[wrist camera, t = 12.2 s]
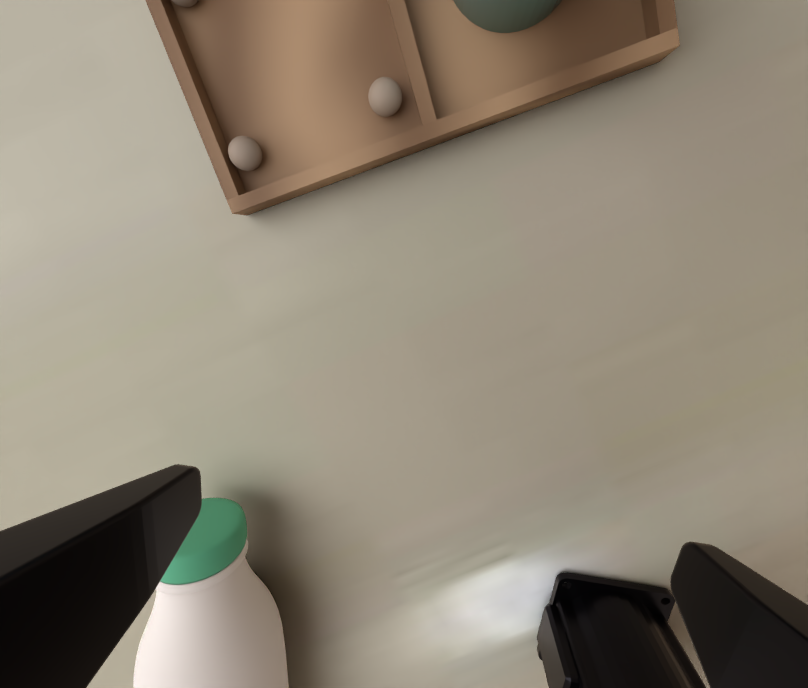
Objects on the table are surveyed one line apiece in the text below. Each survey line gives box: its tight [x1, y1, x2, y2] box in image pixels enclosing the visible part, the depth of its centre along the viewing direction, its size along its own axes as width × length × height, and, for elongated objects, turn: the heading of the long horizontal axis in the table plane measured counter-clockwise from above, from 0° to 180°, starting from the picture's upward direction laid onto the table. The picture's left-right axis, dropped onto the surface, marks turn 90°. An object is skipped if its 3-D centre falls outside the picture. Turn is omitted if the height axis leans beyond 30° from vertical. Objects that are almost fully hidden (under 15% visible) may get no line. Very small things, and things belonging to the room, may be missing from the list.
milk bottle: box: [134, 498, 289, 688], centre depth 22 cm, size 8×8×20 cm
